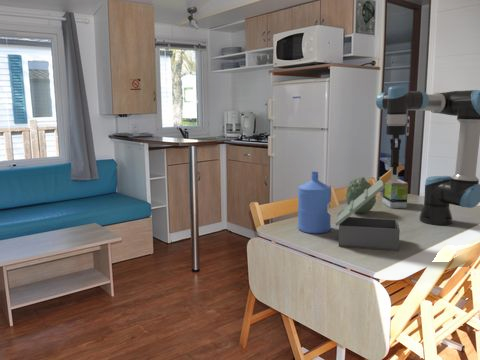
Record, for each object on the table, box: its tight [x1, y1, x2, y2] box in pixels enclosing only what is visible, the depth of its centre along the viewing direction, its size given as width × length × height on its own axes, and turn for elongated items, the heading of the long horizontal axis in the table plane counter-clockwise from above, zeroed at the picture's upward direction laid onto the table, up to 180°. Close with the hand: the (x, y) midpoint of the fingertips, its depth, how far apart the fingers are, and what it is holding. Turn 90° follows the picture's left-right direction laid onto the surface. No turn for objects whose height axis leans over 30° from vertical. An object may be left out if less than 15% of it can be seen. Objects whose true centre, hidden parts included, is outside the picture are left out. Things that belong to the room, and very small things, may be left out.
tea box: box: [381, 178, 409, 209], centre depth 251 cm, size 15×10×15 cm, turn 179°
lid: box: [335, 162, 405, 226], centre depth 182 cm, size 36×17×3 cm
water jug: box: [297, 171, 332, 234], centre depth 204 cm, size 16×16×28 cm
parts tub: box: [338, 216, 401, 252], centre depth 185 cm, size 24×16×9 cm, turn 74°
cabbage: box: [345, 176, 377, 214], centre depth 234 cm, size 16×19×20 cm
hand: (393, 181), depth 178 cm, fingers closed on lid, 3 cm apart
